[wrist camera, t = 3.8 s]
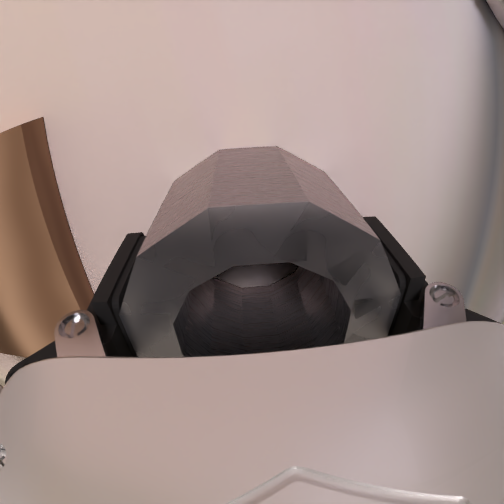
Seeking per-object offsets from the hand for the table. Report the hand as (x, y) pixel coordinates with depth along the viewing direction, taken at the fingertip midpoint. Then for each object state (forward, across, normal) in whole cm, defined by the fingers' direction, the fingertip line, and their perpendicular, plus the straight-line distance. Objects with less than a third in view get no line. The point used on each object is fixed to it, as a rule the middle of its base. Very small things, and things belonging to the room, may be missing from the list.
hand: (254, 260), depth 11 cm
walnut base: (+1, +15, 0) cm, 15 cm away
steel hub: (+1, 0, 0) cm, 1 cm away
